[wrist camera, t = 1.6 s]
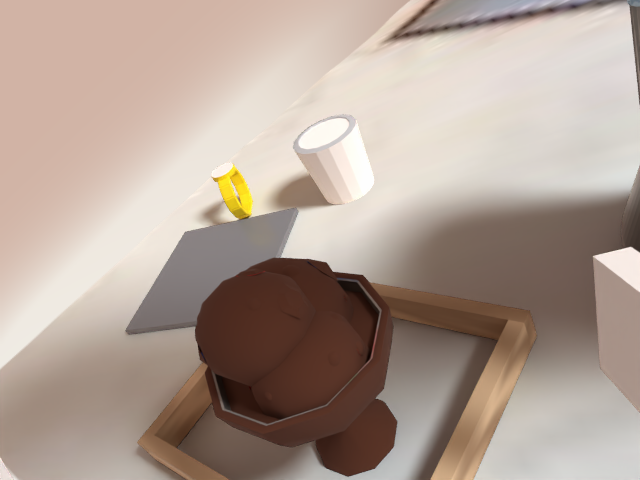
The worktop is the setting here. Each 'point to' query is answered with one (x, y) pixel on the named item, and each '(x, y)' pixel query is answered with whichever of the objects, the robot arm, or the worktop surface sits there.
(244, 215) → the watch
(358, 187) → the white cup
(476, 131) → the worktop surface
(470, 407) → the wooden picture frame
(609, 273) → the robot arm
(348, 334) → the ice cream bowl
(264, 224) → the plate
